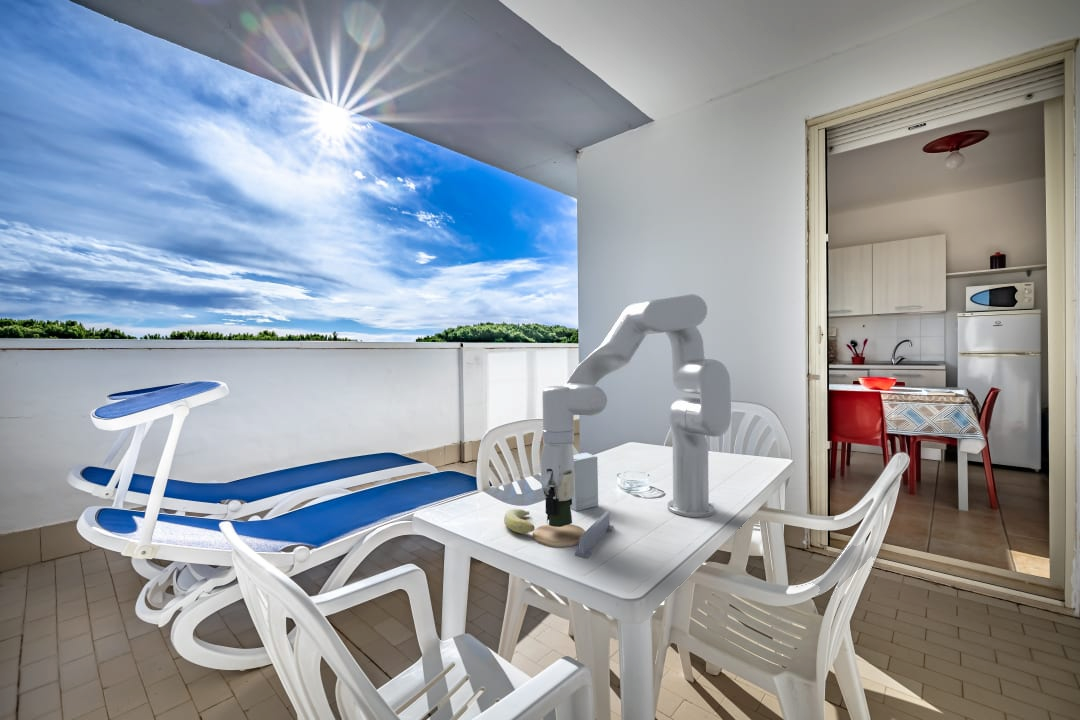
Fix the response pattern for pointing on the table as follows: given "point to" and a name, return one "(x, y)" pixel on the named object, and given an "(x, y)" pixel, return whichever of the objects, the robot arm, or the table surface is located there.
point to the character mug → (563, 502)
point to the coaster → (558, 535)
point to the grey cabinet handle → (593, 535)
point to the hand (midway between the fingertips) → (559, 508)
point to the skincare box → (585, 481)
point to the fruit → (518, 521)
